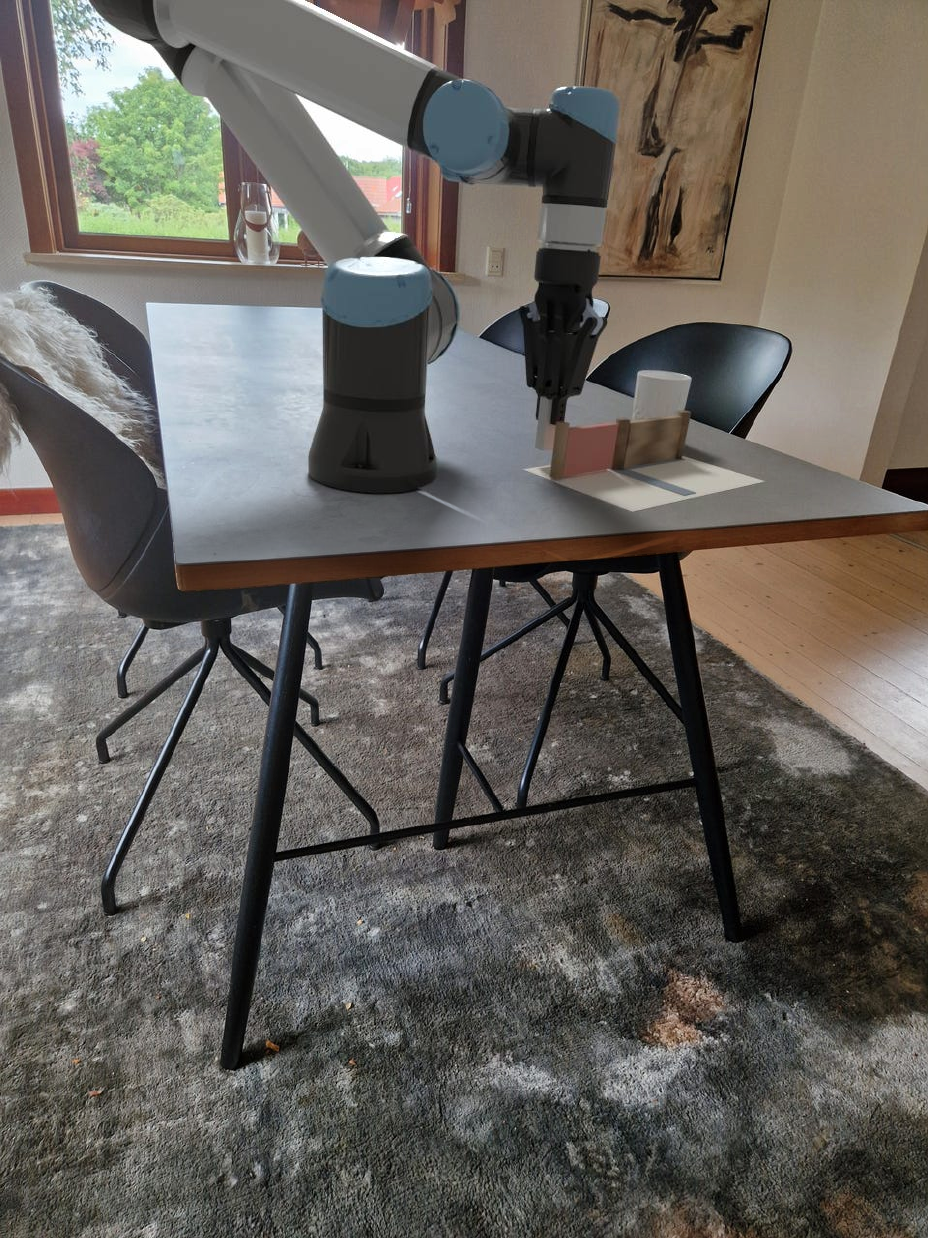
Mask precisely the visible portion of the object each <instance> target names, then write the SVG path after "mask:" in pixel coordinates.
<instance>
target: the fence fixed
mask: <svg viewBox="0 0 928 1238" xmlns="http://www.w3.org/2000/svg"><path fill="white" fill-rule="evenodd" d="M691 416H692V412H691V411H689V410H684V411H683V410H679V411H678V413H677V415H674V416H666V417H658V418H650V419H642V420H634V421H632V420H631V419H630V418H629V417H628V418H627V417H616V418H615V423H617V424H619V425H618V431H617V437H616V443H615V450H614V456H613V462H612V468H611V469H613V470H622V468H627V467H633V466H638V465H644V464H650V463H655V462H661V461H667V460H673V459H682V456H684V449H685V445H686V439H687V437H688V436H687V435H688V429H689V425H690V421H691Z"/></svg>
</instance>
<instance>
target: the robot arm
mask: <svg viewBox="0 0 928 1238" xmlns="http://www.w3.org/2000/svg"><path fill="white" fill-rule="evenodd" d="M88 2H89V4H90V5H91V6H92V8H93V9H94V10H95V11H96V12H97V14H98V15H99V16H100V17H101V18H102V19H104V20H105V21H106V22H107V23H108V24H109V25H110V26H112V27H114V28H115V29H116V30H118V31H120V32H121V33H122V34H125V35H127V36H130V37H131V38H134V39H136V40H139V41H140V42H143V43H146V44H149V45H150V46H151V47H153V48H154V50H155V51H156V52H157V53H158V54H159V56H160V57H161V59H162V60H163V61H164V63H165V65H167V67H168V68H169V70H170V71H171V72H172V74H173V75H174V76H175V78H176V79H177V81H178V82H179V83H180V85H181V87H182V88H183V89H184V90H185V91H186V92H187V93H188V94H189V95H192V96H195V97H196V96H197V97H202V98H203V97H204V98H207V99H208V101H209V102H210V104H211V105H212V106H213V108H214V109H215V111H216V112H217V114H218V115H219V117H220V118H221V120H223V122H224V123H225V125H226V126H227V128H228V129H229V130H230V132H231V133H232V134H233V136H234V137H235V139H236V140H237V142H238V143H239V144H240V145H241V147H242V148H243V150H244V151H245V152H246V154H247V155H248V157H249V159H250V160H251V161H252V162H253V164H254V165H255V167H256V168H257V169H258V171H259V172H260V174H261V175H262V177H263V178H264V179H265V181H266V182H267V183H268V185H269V186H270V188H271V189H272V190H273V191H274V193H275V194H276V196H277V197H278V199H279V200H280V202H281V203H282V205H284V207H285V208H286V210H287V211H288V213H289V214H290V215H291V217H292V218H293V220H294V221H295V222H296V223H297V225H298V227H299V228H300V230H301V231H302V232H303V234H305V236H306V237H307V239H308V241H309V242H310V243H311V244H312V246H313V247H314V250H316V251H317V253H318V254H319V255H320V257H321V258H322V259H323V261H324V263H325V264H326V265H327V267H326V269H325V272H324V275H323V282H322V283H323V287H322V290H321V297H320V302H321V307H322V380H323V381H322V384H323V385H322V389H323V390H322V391H323V393H322V394H323V396H322V397H323V405H322V411H321V413H320V417H319V420H318V423H317V426H316V429H315V432H314V435H313V439H312V442H311V446H310V448H309V451H308V475H309V476H310V477H311V478H312V479H313V480H315V481H316V482H318V483H320V484H323V485H325V486H328V487H332V488H334V489H340V490H343V491H345V490H346V491H350V492H357V493H358V492H359V493H370V494H371V493H372V494H389V493H391V494H392V493H393V494H394V493H404V492H411V491H416V490H419V489H421V488H422V487H426V486H428V485H430V484H431V483H433V482H435V480H436V478H437V466H438V465H437V464H438V463H437V462H438V461H437V456H436V453H435V448H434V445H433V441H432V437H431V432H430V427H429V424H428V421H427V417H426V396H427V395H426V394H427V380H428V379H427V378H428V376H427V375H428V365H430V364H433V363H434V362H436V361H437V360H438V359H439V358H440V357H442V356H443V355H444V354H445V353H446V352H447V351H448V350H449V348H450V346H451V345H452V343H453V341H454V340H455V337H456V335H457V332H458V330H459V329H458V328H459V327H460V320H461V319H460V318H461V317H460V316H461V315H460V304H459V300H458V297H457V294H456V292H455V290H454V288H453V287H452V285H451V284H450V282H449V281H448V280H447V278H446V277H444V276H443V274H442V273H439V272H438V271H437V270H436V269H434V268H431V267H430V266H429V264H428V263H427V261H426V259H425V258H424V256H422V254H421V252H420V251H419V250H418V248H417V247H416V245H415V244H414V242H413V241H412V239H411V238H410V236H409V235H408V234H407V233H401V232H394V231H393V230H390V229H389V228H388V226H387V225H386V224H385V222H384V220H383V219H382V217H380V215H379V213H378V211H377V210H376V209H375V208H374V206H373V205H372V204H371V202H370V201H369V199H368V198H367V196H366V194H364V191H362V189H361V187H360V186H359V185H358V183H357V181H356V180H355V179H354V177H353V176H352V174H351V173H350V172H349V170H348V168H347V167H346V166H345V164H344V163H343V162H342V160H341V158H340V157H339V156H338V154H337V152H336V151H335V149H334V148H333V147H332V145H331V144H330V142H329V141H328V139H327V138H326V136H325V135H324V133H323V132H322V131H321V129H320V128H319V127H318V125H317V123H316V122H315V121H314V119H313V118H312V116H311V115H310V113H309V112H308V111H307V108H306V107H305V106H304V104H303V103H302V102H301V100H300V99H299V98H298V96H299V97H301V98H303V99H305V100H308V101H309V102H311V103H313V104H316V105H318V106H320V107H322V108H324V109H326V110H328V111H330V112H332V113H334V114H337V115H338V116H340V117H342V118H344V119H346V120H348V121H351V122H353V123H355V124H357V125H358V126H360V127H363V128H365V129H367V130H369V131H371V132H373V133H375V134H377V135H379V136H381V137H383V138H385V139H387V140H389V141H391V142H394V143H396V144H398V145H400V146H402V147H404V148H407V149H408V150H410V151H412V152H414V153H415V154H417V155H419V156H421V157H423V158H426V159H427V160H430V161H431V162H434V163H436V164H438V167H439V169H440V174H441V176H442V177H443V178H444V179H445V180H447V181H449V182H456V183H462V184H467V185H470V186H472V185H473V186H474V185H476V184H479V185H481V184H482V185H495V186H498V185H499V186H518V187H519V186H520V187H521V186H524V187H529V188H530V187H531V188H536V187H539V188H542V196H541V204H540V205H541V206H540V212H539V213H540V214H539V223H538V232H537V241H538V242H539V243H541V245H542V246H541V247H539V248H538V250H536V253H535V264H534V277H533V278H534V280H535V281H536V282H537V283H538V286H537V290H536V291H535V293H534V300H533V301H531V302H530V303H529V304H528V305H520V307H519V309H518V314H519V317H520V320H521V324H522V331H523V346H524V363H525V364H524V366H525V380H526V381H525V382H526V386H527V387H528V388H532V389H533V390H534V391H535V393H536V395H537V399H536V411H535V418H536V420H537V426H536V427H537V428H536V436H535V445H534V448H535V449H537V450H541V451H549V450H553V444H554V436H555V428H556V422H565V420H566V419H565V418H566V411H567V402H568V400H569V398H572V397H576V396H580V395H581V394H582V392H583V389H584V385H585V382H586V379H587V376H588V372H589V370H590V366H591V364H592V359H593V356H594V354H595V351H596V347H597V344H598V341H599V337H600V336H601V335H602V333H603V332H604V330H605V328H606V327H607V325H608V318H607V317H606V316H600V315H598V313H597V312H596V311H595V309H594V304H595V303H594V298H593V289H594V287H595V286H596V285H597V283H598V280H599V274H600V273H599V272H600V266H601V257H602V256H601V255H600V252H598V251H597V247H599V248H600V247H601V246H602V245H603V239H604V231H605V227H606V226H605V225H606V224H605V223H606V216H607V212H608V211H607V207H608V203H609V202H608V201H609V195H610V189H611V181H612V174H613V167H614V160H615V154H616V146H617V135H618V134H617V133H618V125H619V124H618V123H619V112H620V111H619V110H620V102H619V99H618V97H617V95H615V93H613V92H612V91H610V90H608V89H604V88H600V87H592V86H581V85H580V86H579V85H578V86H577V85H576V86H562V87H558V88H556V89H555V90H554V91H553V93H552V95H551V98H550V99H551V100H550V103H549V105H548V108H542V109H539V108H536V109H532V108H531V109H530V108H518V107H517V108H516V107H506V106H505V105H504V104H503V103H502V100H501V99H500V98H499V97H498V96H497V95H496V93H495V92H494V90H492V89H491V88H489V87H487V86H485V85H484V84H482V83H480V82H478V81H476V80H474V79H467V78H466V79H464V78H462V77H460V76H458V75H456V74H454V73H452V72H450V71H447V70H445V69H442V68H440V67H439V66H437V65H436V64H434V63H432V62H430V61H428V60H425V59H424V58H422V57H421V56H418V55H415V53H414V54H413V53H412V52H410V51H407V50H406V49H403V48H402V47H399V46H397V45H395V44H394V43H391V42H389V41H387V40H386V39H383V38H382V37H379V36H377V35H375V34H373V33H371V32H369V31H367V30H365V29H363V28H361V27H359V26H357V25H355V24H352V23H351V22H348V21H346V20H344V19H342V18H340V17H338V16H337V15H335V14H333V13H330V12H328V11H326V10H325V9H322V8H320V7H318V6H316V5H314V4H313V3H310V2H307V1H306V0H88Z"/></svg>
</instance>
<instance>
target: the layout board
mask: <svg viewBox="0 0 928 1238" xmlns="http://www.w3.org/2000/svg"><path fill="white" fill-rule="evenodd" d="M550 468H551V464H549V465H543V466H535V467H530V468H523V469H522V470H523V471H525V472H528V473H530V474H532V475H535V476H538V477H540V478H543V479H545V480H548V481H550V482H553V483H555V484H558V485H561V486H563V487H567V488H569V489H571V490H574V491H577V492H579V493H582V494H585V495H588V496H589V497H591V498H594V499H597V500H599V501H603V502H605V503H608V504H610V505H613V506H615V507H617V508H620V509H623V510H625V511H628V512H631V513H634V512H638V511H643V510H648V509H652V508H657V507H660V506H665V505H669V504H673V503H677V502H681V501H687V500H691V499H695V498H701V497H704V496H709V495H715V494H717V493H722V492H726V491H730V490H735V489H740V488H743V487H744V488H745V487H748V486H752V485H757V484H761V483H765V482H766V481H765V480H762V479H758V478H755V477H753V476H749V475H747V474H743V473H740V472H737V471H733V470H730V469H726V468H723V467H720V466H717V465H714V464H710V463H707V462H704V461H701V460H697V459H693V458H690V457H687V456H684V455H683V456H682V459H673V460H667V461H661V462H655V463H650V464H644V465H638V466H633V467H627V468H622V470H613V469H607V470H601V471H596V472H590V473H584V474H578V475H573V476H567V477H562V478H561V479H555V478H551V477H550V476H549V475H550Z"/></svg>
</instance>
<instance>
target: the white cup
mask: <svg viewBox="0 0 928 1238" xmlns="http://www.w3.org/2000/svg"><path fill="white" fill-rule="evenodd" d="M692 379H693V378H692V377H691V376H689V375H686V374H684V373H683V374H682V373H677V372H673V371H665V370H656V369H655V370H654V369H653V370H649V369H647V370H645V369H644V370H639V371H638V372H637V376H636V383H635V384H636V385H635V390H634V399H633V400H634V401H633V407H632V408H633V409H632V418H631V421H634V420H642V419H650V418H658V417H666V416H674V415H677V413H678V411H679V410H683V411H685V410H686V409H685V408H686V404H687V401H688V395H689V391H690V388H691V384H692V383H691V382H692Z"/></svg>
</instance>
